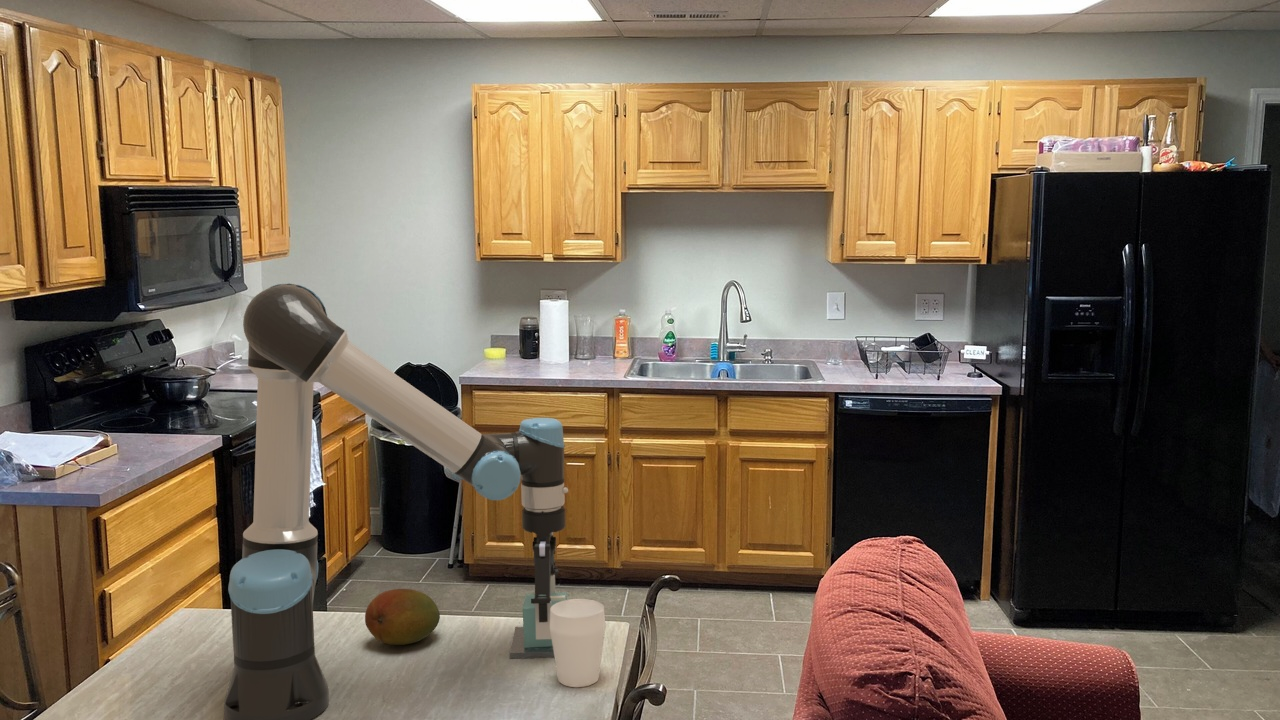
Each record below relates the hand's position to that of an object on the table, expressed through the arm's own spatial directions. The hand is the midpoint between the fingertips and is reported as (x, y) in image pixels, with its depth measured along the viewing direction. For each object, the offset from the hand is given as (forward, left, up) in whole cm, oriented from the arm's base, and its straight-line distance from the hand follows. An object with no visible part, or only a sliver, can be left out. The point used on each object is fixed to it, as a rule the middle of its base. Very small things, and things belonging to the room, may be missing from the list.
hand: (546, 624), depth 179 cm
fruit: (-26, +3, -4) cm, 26 cm away
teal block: (0, 0, -3) cm, 3 cm away
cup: (+6, -15, -4) cm, 17 cm away
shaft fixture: (0, 0, -4) cm, 4 cm away
